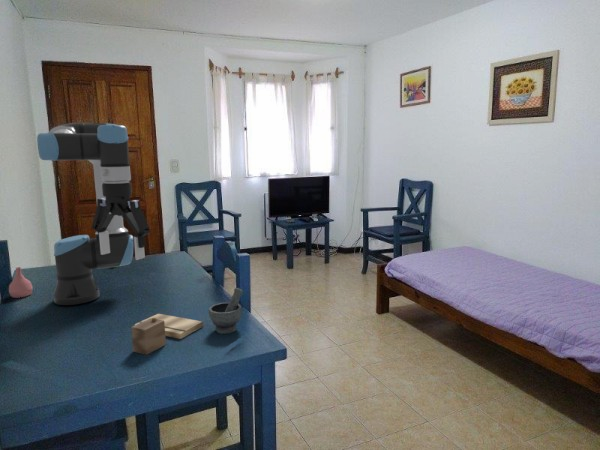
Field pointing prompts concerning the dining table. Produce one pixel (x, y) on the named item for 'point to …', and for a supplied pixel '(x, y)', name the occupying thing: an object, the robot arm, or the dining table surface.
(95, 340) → the dining table surface
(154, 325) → the wooden block
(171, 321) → the plank
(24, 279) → the pink teardrop-shaped piece
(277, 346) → the dining table surface
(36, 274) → the dining table surface
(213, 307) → the mortar and pestle
